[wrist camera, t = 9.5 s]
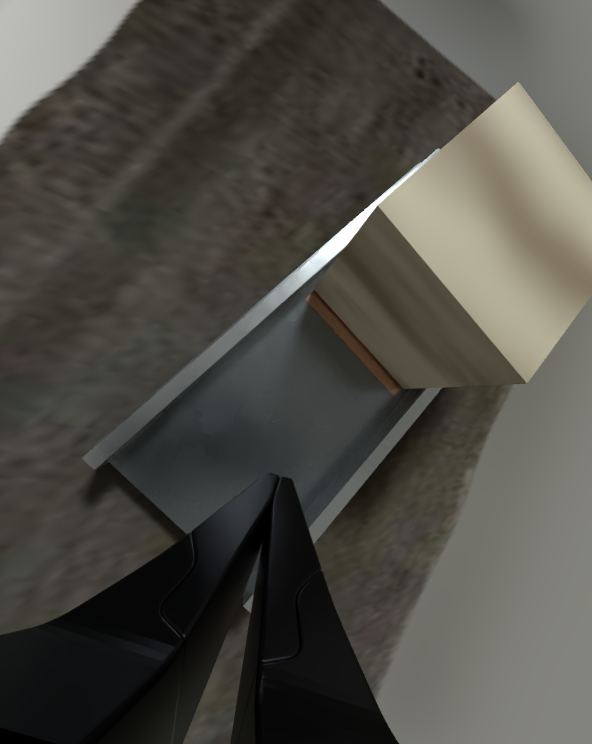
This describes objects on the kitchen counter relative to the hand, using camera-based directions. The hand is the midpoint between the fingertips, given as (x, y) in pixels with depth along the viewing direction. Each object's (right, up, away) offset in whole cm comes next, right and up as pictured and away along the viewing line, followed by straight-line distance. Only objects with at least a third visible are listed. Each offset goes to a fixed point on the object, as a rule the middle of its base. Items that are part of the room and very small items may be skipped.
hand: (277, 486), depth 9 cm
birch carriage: (+8, +9, +11) cm, 16 cm away
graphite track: (+4, +5, +10) cm, 12 cm away
